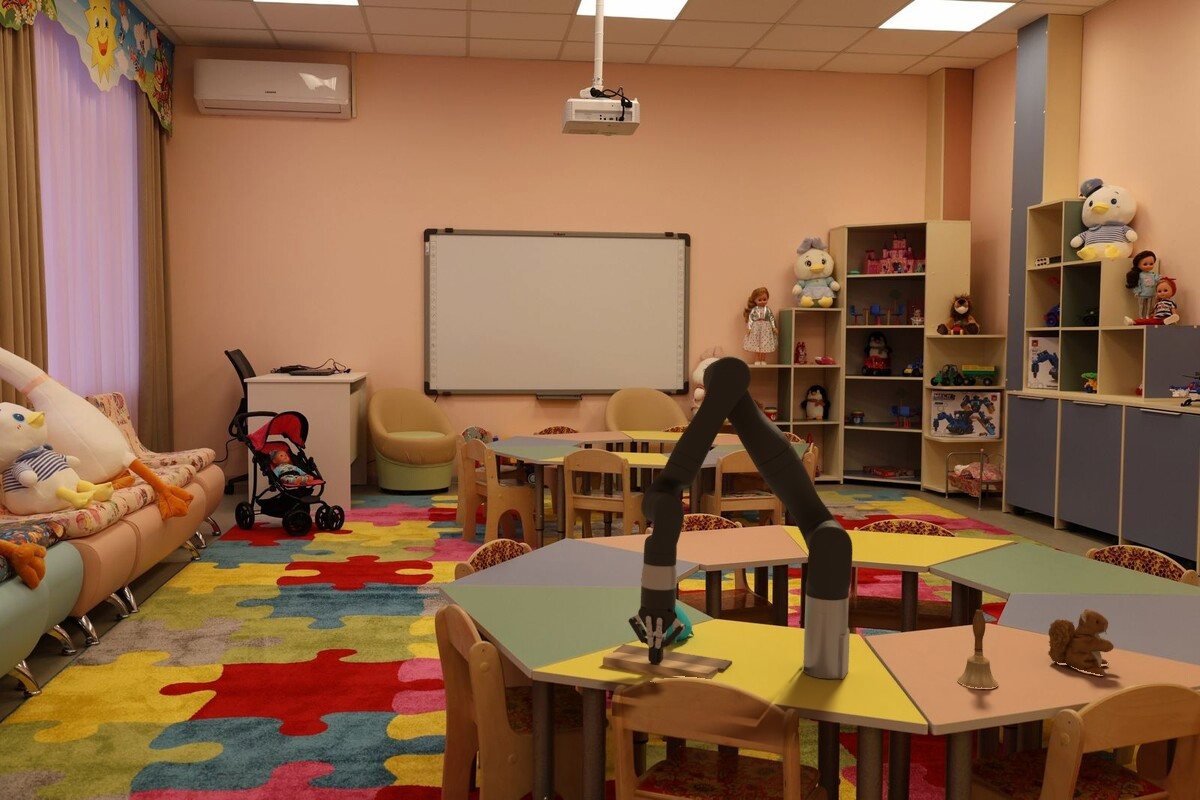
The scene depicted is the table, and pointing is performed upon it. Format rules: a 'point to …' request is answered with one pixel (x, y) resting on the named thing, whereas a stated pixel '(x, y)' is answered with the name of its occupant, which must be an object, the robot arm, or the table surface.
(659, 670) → the plank
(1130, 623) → the table surface
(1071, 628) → the stuffed squirrel
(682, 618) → the toy shark
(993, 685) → the hand bell
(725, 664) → the base strip
